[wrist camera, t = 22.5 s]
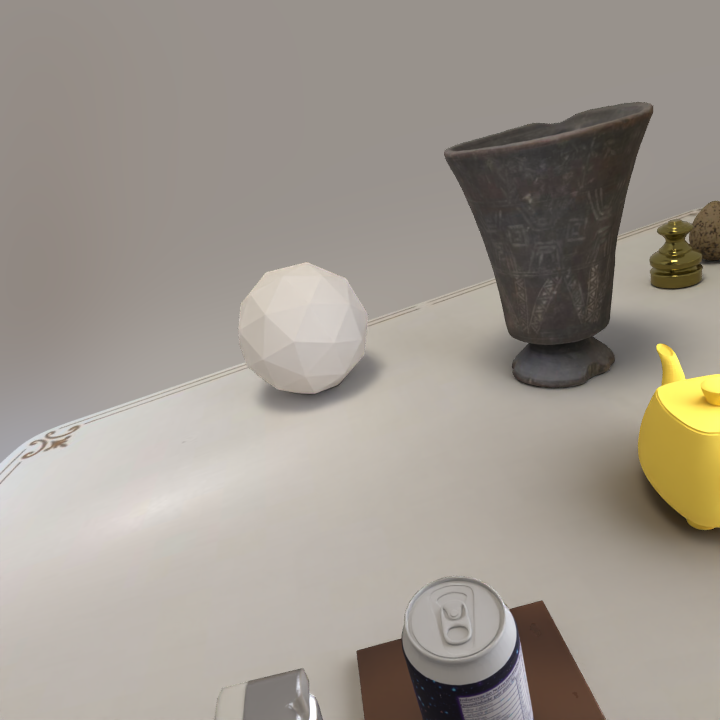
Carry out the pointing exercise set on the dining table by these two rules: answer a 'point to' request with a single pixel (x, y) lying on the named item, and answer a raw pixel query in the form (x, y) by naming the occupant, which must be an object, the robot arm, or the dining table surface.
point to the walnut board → (542, 666)
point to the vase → (554, 231)
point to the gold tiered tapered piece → (676, 258)
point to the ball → (302, 329)
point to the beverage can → (464, 653)
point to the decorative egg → (707, 231)
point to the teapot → (684, 442)
